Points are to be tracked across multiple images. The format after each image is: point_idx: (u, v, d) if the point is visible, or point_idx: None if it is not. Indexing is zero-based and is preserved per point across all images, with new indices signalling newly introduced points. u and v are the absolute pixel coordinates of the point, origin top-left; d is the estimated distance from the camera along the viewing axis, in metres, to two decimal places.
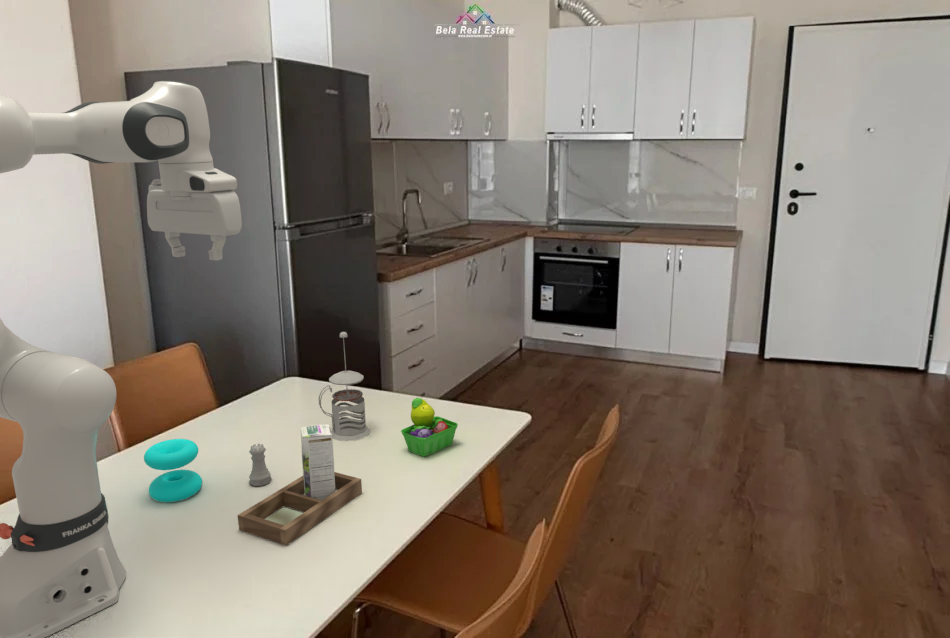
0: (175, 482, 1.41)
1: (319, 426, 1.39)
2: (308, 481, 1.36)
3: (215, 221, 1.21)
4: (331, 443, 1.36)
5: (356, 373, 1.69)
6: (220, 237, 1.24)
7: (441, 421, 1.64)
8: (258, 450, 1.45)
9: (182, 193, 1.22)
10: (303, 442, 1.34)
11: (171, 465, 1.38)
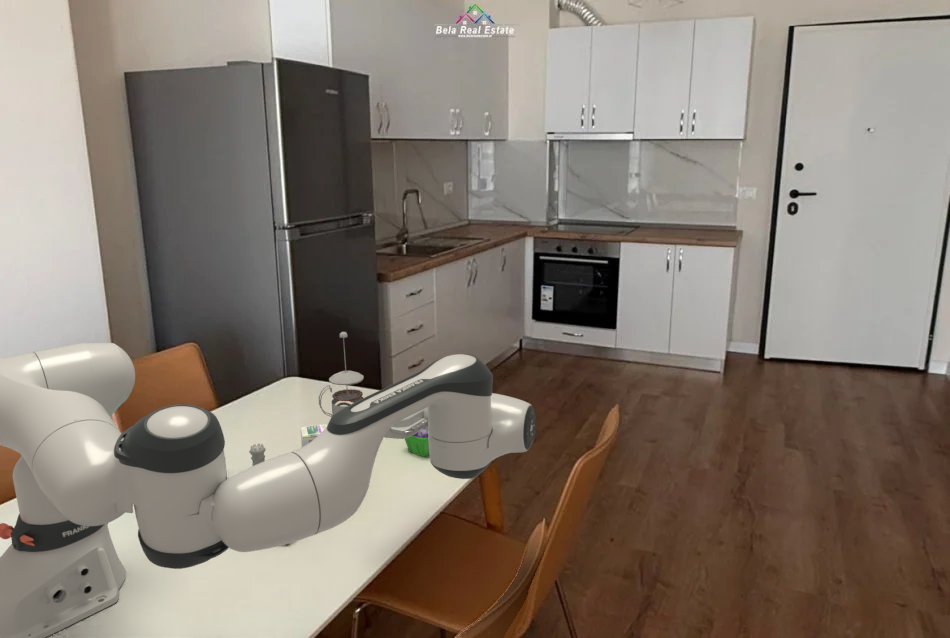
0: None
1: (319, 426, 1.39)
2: None
3: None
4: None
5: (356, 373, 1.69)
6: None
7: None
8: (258, 450, 1.45)
9: None
10: (303, 442, 1.34)
11: None
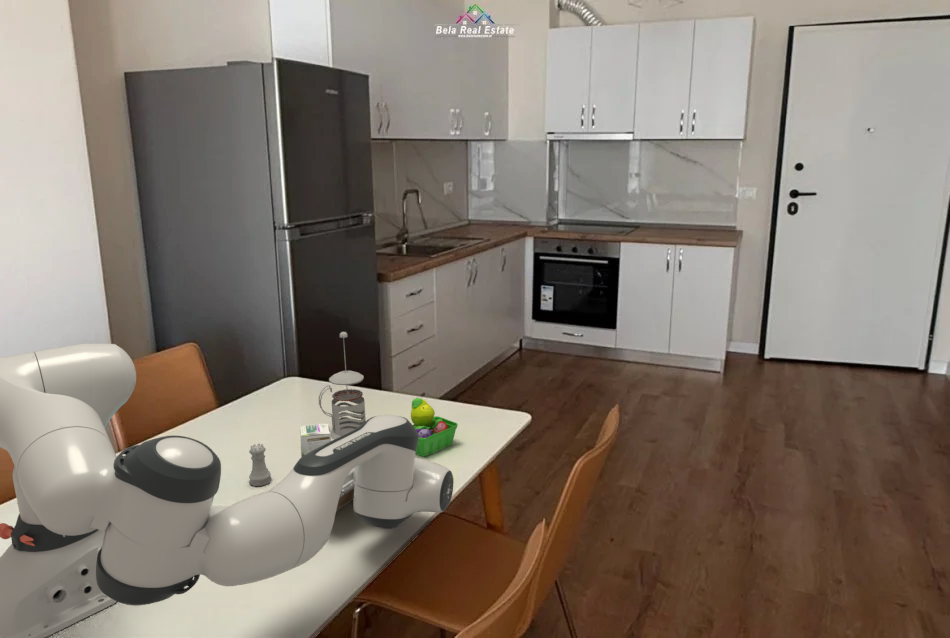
0: None
1: (318, 425, 1.39)
2: None
3: None
4: None
5: (356, 373, 1.69)
6: None
7: (441, 421, 1.64)
8: (258, 450, 1.45)
9: None
10: (302, 441, 1.34)
11: None
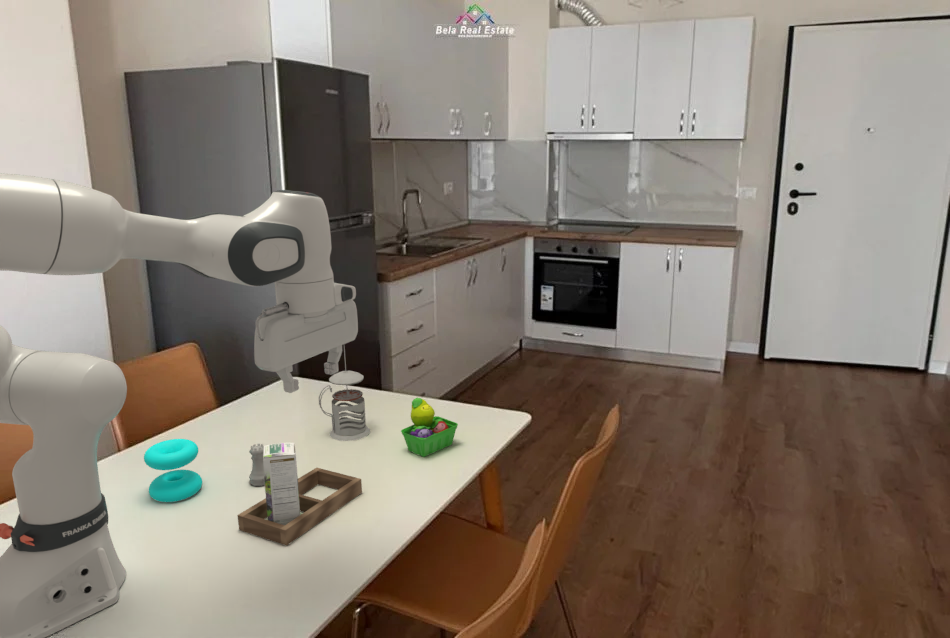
0: (175, 482, 1.41)
1: (283, 444, 1.30)
2: (269, 504, 1.28)
3: (349, 328, 1.18)
4: (294, 463, 1.27)
5: (356, 373, 1.69)
6: None
7: (441, 421, 1.64)
8: (258, 450, 1.45)
9: (326, 309, 1.11)
10: (264, 462, 1.26)
11: (170, 465, 1.38)
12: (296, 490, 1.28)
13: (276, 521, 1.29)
